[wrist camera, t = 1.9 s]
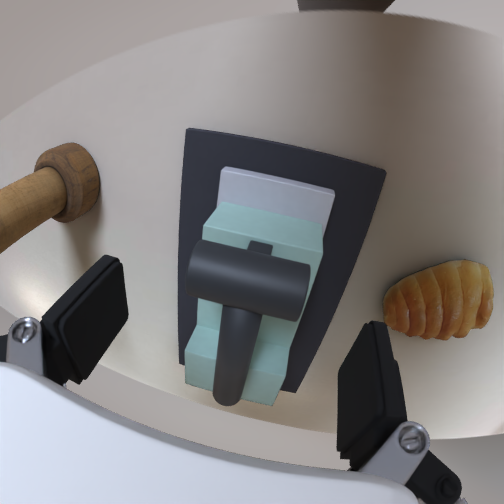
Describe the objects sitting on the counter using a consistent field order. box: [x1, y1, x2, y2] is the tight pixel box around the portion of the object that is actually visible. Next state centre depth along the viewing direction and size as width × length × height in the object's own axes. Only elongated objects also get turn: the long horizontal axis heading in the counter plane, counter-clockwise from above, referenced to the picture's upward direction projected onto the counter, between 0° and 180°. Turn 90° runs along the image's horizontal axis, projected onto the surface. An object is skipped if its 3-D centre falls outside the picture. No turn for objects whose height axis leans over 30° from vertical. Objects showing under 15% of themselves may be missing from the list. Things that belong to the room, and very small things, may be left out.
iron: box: [185, 166, 335, 406], centre depth 18 cm, size 14×7×10 cm, turn 171°
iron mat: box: [178, 128, 386, 393], centre depth 24 cm, size 24×13×1 cm, turn 171°
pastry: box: [383, 259, 494, 340], centre depth 19 cm, size 9×7×4 cm
